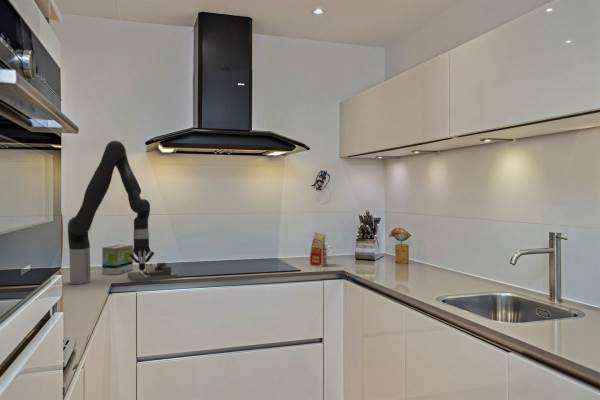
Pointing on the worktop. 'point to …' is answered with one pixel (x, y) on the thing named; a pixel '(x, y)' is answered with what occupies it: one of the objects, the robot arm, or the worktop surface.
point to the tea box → (117, 259)
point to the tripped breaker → (150, 268)
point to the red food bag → (318, 251)
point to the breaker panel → (142, 278)
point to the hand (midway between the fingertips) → (142, 270)
